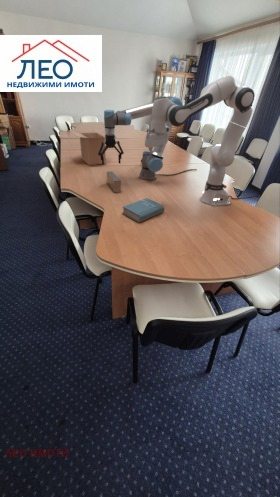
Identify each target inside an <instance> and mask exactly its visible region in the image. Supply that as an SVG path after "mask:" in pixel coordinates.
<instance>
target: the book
mask: <svg viewBox="0 0 280 497" xmlns="http://www.w3.org/2000/svg"><path fill="white" fill-rule="evenodd" d="M122 210H123V212H122V215H124V216H126V217H128V218H129V219H131V220H133V221H135V222H137V223H138V224H139V223H142V222H144V221H146V220H148V219H150V218H153V217H155V216H157V215H160V214H162V213H164V212H165V205H163V204H161V203H159V202H157V201H155V200H152V199H150V198H148V197H146V198H143V199H141V200H137V201H134V202H132V203H129V204H126V205H124V206H122Z"/></svg>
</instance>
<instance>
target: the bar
mask: <svg viewBox="0 0 280 497" xmlns="http://www.w3.org/2000/svg"><path fill="white" fill-rule="evenodd" d="M106 184H107V185H108V186H109V187H110V189H111V190H112V192H113V193H116V194H117V193H121V192H122V180H121V178H120V177H119V176H118V175H117V174H116V173H115V172H114V171H112V170H111V171H110V170H109V171H106Z"/></svg>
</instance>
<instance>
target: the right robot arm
mask: <svg viewBox="0 0 280 497" xmlns="http://www.w3.org/2000/svg"><path fill="white" fill-rule="evenodd" d="M167 97H168V96H158V97H156V98H154V100H153V102H152V103H153V108H152V115H151V121H150V129H148V131H147V132H146V135H145V140H144V146H145V147H146V148H148V151H150V154H153V149H154V146H159V145H160V147H159V149H158V152H162V148H163V144H166V145H167V144H168V141H169V137H170V135H169V133H168V132H169V130H170V128H169V127H167V126H166V122H170V123H171V124H172V125H173V126H172V127H177V128H178V127H182V126H183V125H185V123H186V122H187V121H188V120H190V118H192V117H193V116H195V115H197V114H198V113H200V112H202V111H204V110H206V109H208V108H211V107H212V106H215V105H217V104H219V103H221V102H222V101H223V103H224V105H225V106H227V107H229V108H231V109H233V113H232V115H231V117H230V120H229V122H228V124H227V126H226V128H225V129H224V131H223V134H222V139H221V143H219V144H215V145H214V146H213V147H212V148H211V149H210V162H209V171H208V176H207V179H206V181H205V185H204V189H203V191H202V195H201V197H200V202H202V203H204V204H207V205H210V206H213V207H218V206H219V207H220V206H230V205H231V201H230V198H231V200H243V199H245V200H246V199H251V198H254V197H256V198H259V195H253V196H248V197H246V196H245V197H238V198H235V197H232V195H230V194H228V192H227V191H226V190H225V189H227V185H226V184H224V179H225V176H226V167H227V168H228V167H229V166H231V165H232V164H233V163H234V161H235V155H236V151H237V148H238V144H239V142H240V140H241V138H242V136H243V134H244V132H245V130H246V129H247V127H248V124H249V122H250V121H251V118H252V114H253V108H252V107H253V103H254V101H255V91H254V90H253V89H252V88H251V87H249V86H244V85H237V84H236V80H235V78H234V76H231V75H227V76H224V77H223V76H222V77H221V78H218V79H216V80H213V81H212V82H210V83H208V84H207V85H206V86H204V87H203V88H202V89H201V91H200V94H199V97H197V98H196V99H194V100H193V101H191V102H189V103H187V104H185V105H184V104H183V106H179V105H176V104H175V103H173V102H171V101H170V100H169V99H168V98H167ZM168 136H169V137H168Z"/></svg>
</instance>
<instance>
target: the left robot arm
mask: <svg viewBox="0 0 280 497" xmlns="http://www.w3.org/2000/svg"><path fill="white" fill-rule="evenodd" d="M166 97H167V98H168V99H169V100H170V101H171V102H173V103H175V104H176V105H179V106H184V102H183V100H182V99H181V98H179V97H177V96H171V95H170V96H166ZM152 108H153V102H151V103H147V104H146V103H145V104H143V105H138V106H135V107H131V108H126V109H124V110H117V111H115V110H114V109H105V110H103V124H104V132H105V134H106V135H105V142H101V147H100V149H99V152H98V155H100V157H101V160H102V164H101V165H103V166H105V164H104V157H103V154H104V153H105V154H106V152H107V150H108V149H115V150H116V152H117V153H118V155H117V156H118V164H121V160H122V155H124V154H125V152H124V150H123V148H122V146H121V142H120V141H119V140H117V141H116V126H126V127H127V126H130V125H131V124H132V120H137V119H140V118H143V117H148V116H152ZM166 126H167V127H169V128H170V130H169V132H168V133H169V136H168V138H169V137H170V135H171V132H172V128H173V127H174V126H173V125H172V124H171V123H170V122H166ZM104 144H105V148H104V149H103V146H104ZM116 145H117V146H118V147H117V146H116ZM166 146H167V144H163V148H162V152H158V149H159V147H160V145H159V146H154V147H153V149H152V151H153V154H150V151H149V150H143V152H142V158H143V159H142V158H141V160H142V163H141V169H140V172H139V178H140V179H142V180H146V181H154V180H156V178H157V176H163V174H161V173H160V174H159V173H158V174H157V172H159V171H161V170H162V169H163V166H164V164H163V163H164V162H163V161H164V160H163V159H164V152H165V149H166ZM102 149H103V151H102ZM101 151H102V152H101ZM188 171H197V168H192V169H186V170H182V171H179V172H177V173H172V174H165V176H167V177H168V176H176V175H179V174H182V173H185V172H188Z"/></svg>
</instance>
